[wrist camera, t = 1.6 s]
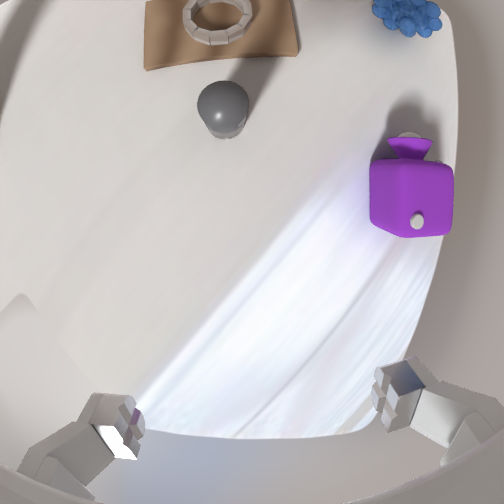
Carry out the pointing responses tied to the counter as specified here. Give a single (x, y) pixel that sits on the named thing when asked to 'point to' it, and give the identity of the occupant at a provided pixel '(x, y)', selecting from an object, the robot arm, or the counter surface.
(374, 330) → the counter surface
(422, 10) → the blue lumpy cluster
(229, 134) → the grey rounded cylinder
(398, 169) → the toy camera
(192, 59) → the mount
